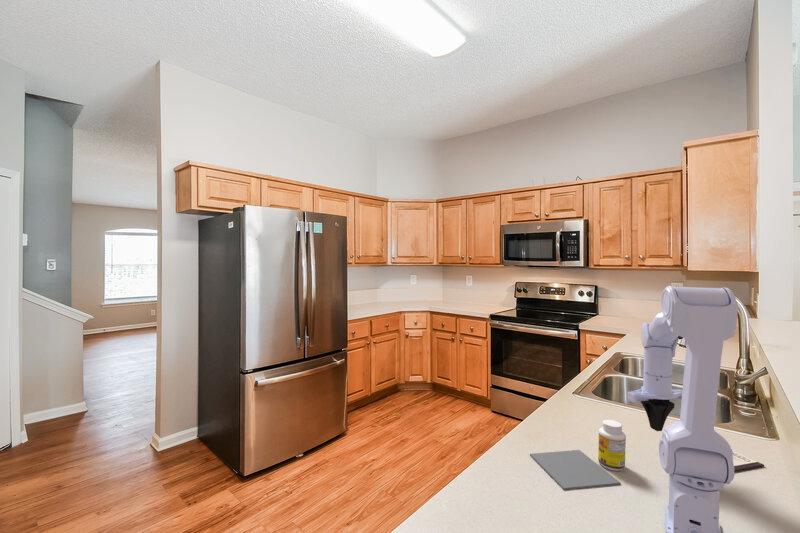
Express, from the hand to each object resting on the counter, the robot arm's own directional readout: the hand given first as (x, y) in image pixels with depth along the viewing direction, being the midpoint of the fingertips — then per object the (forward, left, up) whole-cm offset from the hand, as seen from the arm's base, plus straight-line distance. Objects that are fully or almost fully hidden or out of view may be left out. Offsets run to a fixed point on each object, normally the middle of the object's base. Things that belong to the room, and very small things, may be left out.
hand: (656, 429), depth 90 cm
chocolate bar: (+9, -12, -9) cm, 17 cm away
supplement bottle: (-9, +8, -8) cm, 15 cm away
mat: (-16, +16, -8) cm, 24 cm away
